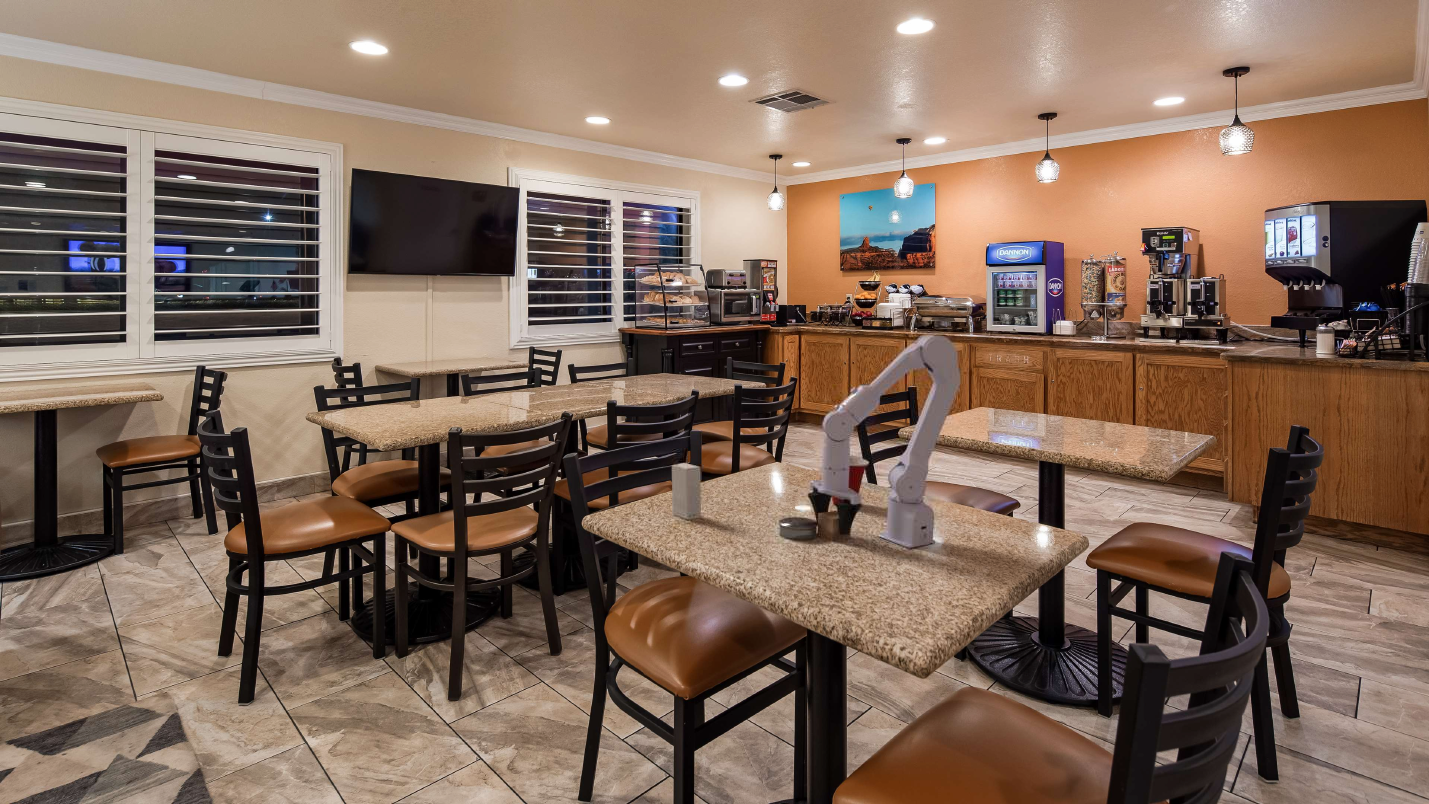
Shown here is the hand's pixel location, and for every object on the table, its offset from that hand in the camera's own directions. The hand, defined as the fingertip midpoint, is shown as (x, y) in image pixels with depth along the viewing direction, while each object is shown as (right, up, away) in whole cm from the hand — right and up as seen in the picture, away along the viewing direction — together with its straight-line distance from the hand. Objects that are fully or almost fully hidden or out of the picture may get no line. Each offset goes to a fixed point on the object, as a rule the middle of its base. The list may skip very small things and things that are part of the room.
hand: (832, 529), depth 161 cm
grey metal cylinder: (-7, -2, +1) cm, 8 cm away
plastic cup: (+7, +1, +27) cm, 28 cm away
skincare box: (-32, 0, +14) cm, 35 cm away
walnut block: (0, -2, 0) cm, 2 cm away
